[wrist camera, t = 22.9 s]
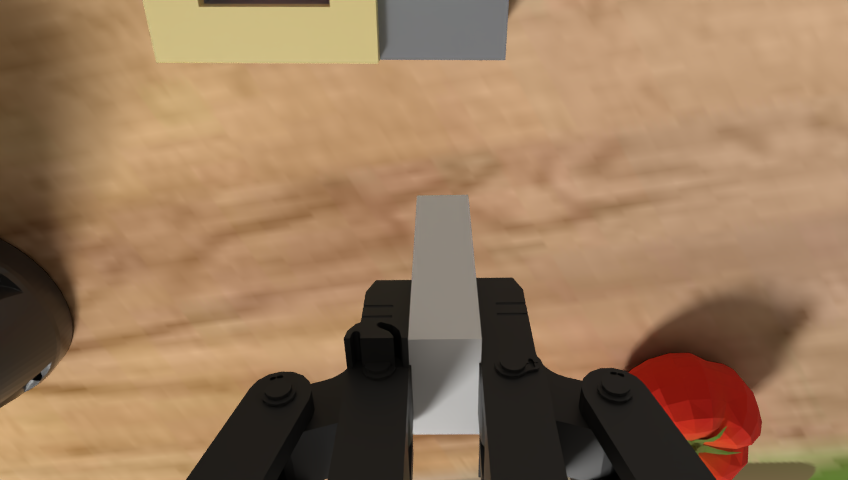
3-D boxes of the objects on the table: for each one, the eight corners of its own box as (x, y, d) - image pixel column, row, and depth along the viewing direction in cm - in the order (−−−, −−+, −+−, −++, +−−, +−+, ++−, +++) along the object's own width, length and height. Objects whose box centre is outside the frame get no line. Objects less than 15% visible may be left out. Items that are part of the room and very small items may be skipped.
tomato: (642, 318, 48) (671, 388, 42) (764, 360, 50) (811, 434, 43) (576, 411, 53) (593, 486, 47) (689, 446, 55) (720, 523, 49)
